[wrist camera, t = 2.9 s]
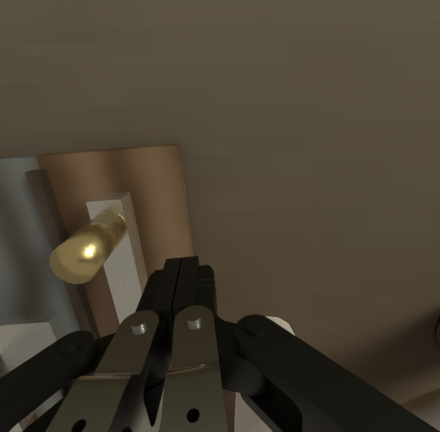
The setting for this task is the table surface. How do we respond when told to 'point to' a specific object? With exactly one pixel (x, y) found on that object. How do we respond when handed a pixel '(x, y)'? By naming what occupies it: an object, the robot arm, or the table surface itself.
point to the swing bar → (106, 251)
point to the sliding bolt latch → (74, 220)
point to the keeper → (26, 343)
